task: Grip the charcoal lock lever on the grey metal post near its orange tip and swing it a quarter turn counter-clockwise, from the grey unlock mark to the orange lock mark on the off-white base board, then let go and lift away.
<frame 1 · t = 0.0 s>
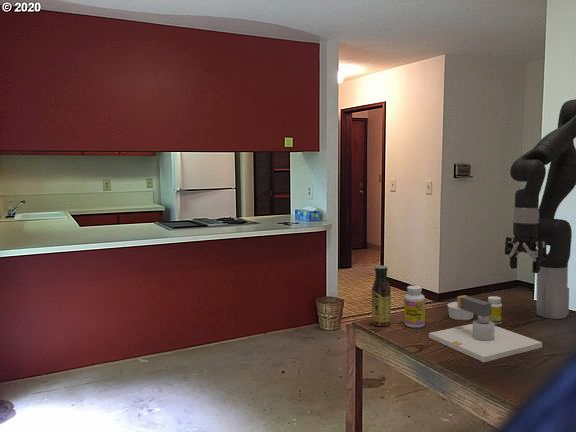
hand: (524, 270, 162), 17 cm above the table, tool pointing down, fingers open, 8 cm apart
ramekin: (461, 317, 171), on the table
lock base: (483, 342, 146), on the table
sauce bottle: (381, 325, 166), on the table
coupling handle: (473, 309, 148), point 9 cm above the table, hinge at 0.0°
supplement bottle: (494, 323, 164), on the table
supplement bottle 2: (414, 325, 164), on the table
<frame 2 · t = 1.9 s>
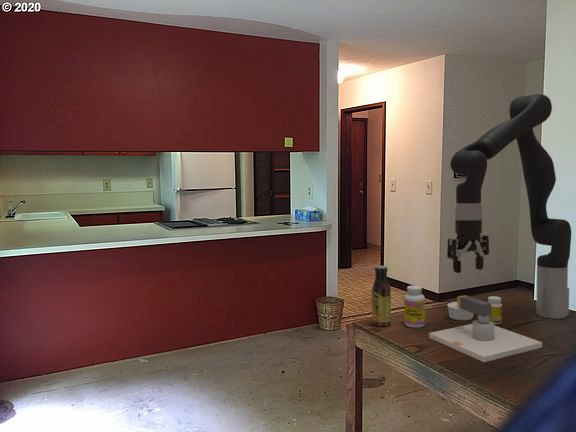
hand: (468, 270, 149), 20 cm above the table, tool pointing down, fingers open, 8 cm apart
nothing on the table moved.
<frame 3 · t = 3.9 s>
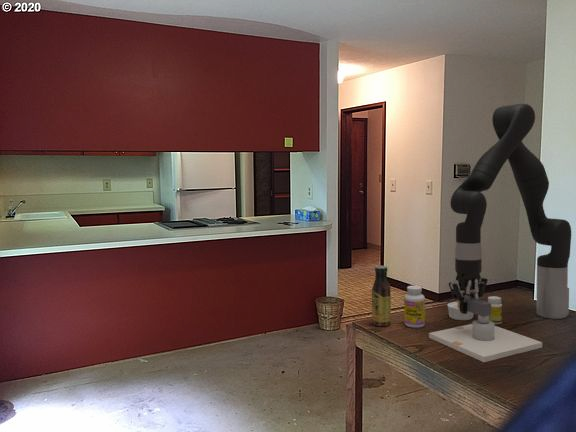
hand: (468, 312, 151), 8 cm above the table, tool pointing down, fingers closed on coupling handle, 3 cm apart
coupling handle: (473, 309, 148), point 9 cm above the table, hinge at 0.0°, touching gripper
everything else where it was.
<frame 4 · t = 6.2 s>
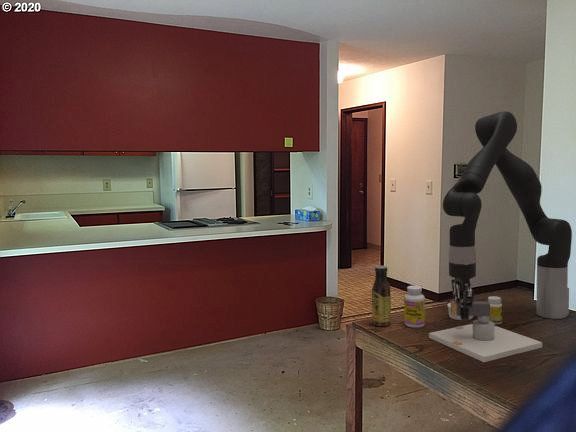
hand: (462, 317, 146), 8 cm above the table, tool pointing down, fingers closed on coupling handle, 3 cm apart
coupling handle: (470, 312, 146), point 9 cm above the table, hinge at 56.2°, touching gripper
everything else where it was.
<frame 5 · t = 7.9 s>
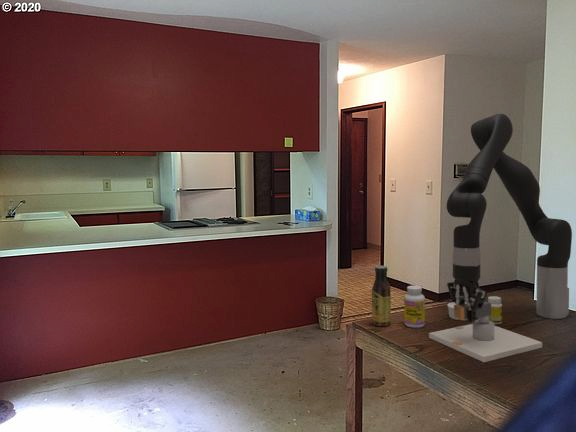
hand: (466, 320, 143), 8 cm above the table, tool pointing down, fingers closed on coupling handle, 3 cm apart
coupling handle: (472, 313, 144), point 9 cm above the table, hinge at 83.4°, touching gripper
everything else where it was.
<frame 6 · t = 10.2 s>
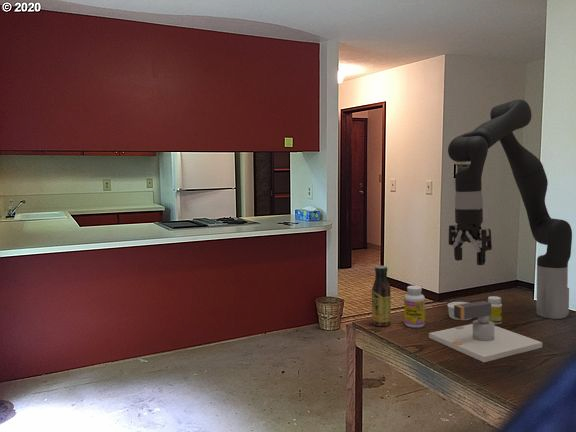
hand: (469, 262, 143), 24 cm above the table, tool pointing down, fingers open, 8 cm apart
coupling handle: (472, 313, 144), point 9 cm above the table, hinge at 83.6°
everything else where it was.
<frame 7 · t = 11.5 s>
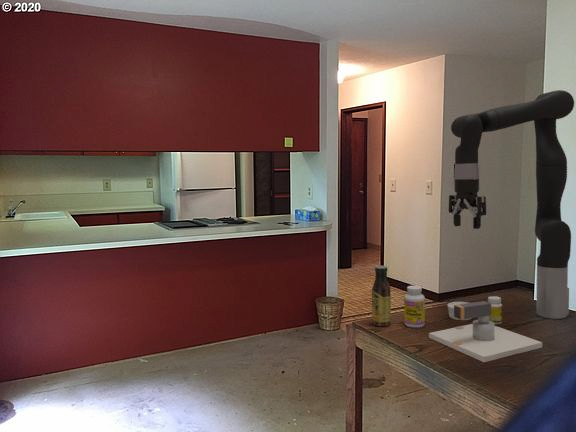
hand: (466, 227, 161), 32 cm above the table, tool pointing down, fingers open, 8 cm apart
nothing on the table moved.
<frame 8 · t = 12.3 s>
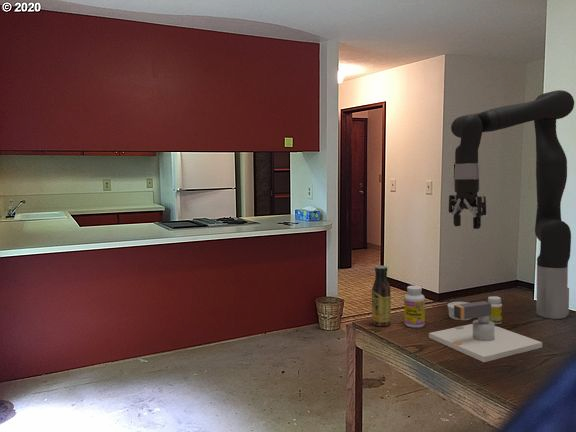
hand: (466, 227, 161), 32 cm above the table, tool pointing down, fingers open, 8 cm apart
nothing on the table moved.
at the end: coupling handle at +84° (first picture: +0°); the gripper is holding nothing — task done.
